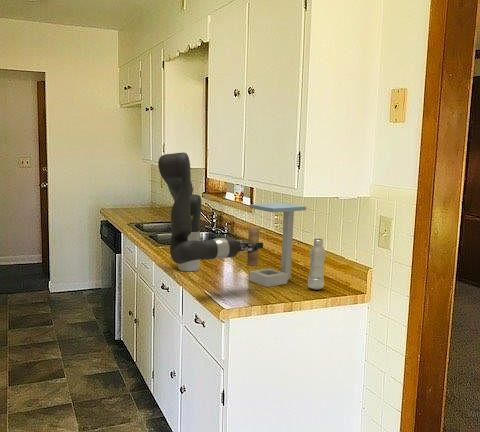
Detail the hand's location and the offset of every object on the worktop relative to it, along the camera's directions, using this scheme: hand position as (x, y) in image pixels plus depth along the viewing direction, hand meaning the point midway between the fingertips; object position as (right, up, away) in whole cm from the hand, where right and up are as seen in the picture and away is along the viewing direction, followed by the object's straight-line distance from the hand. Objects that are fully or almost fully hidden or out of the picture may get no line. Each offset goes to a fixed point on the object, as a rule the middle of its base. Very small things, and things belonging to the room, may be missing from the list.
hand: (258, 244), depth 202 cm
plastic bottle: (+23, -18, +5) cm, 30 cm away
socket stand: (+7, -16, +16) cm, 24 cm away
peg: (-2, -8, -1) cm, 8 cm away
